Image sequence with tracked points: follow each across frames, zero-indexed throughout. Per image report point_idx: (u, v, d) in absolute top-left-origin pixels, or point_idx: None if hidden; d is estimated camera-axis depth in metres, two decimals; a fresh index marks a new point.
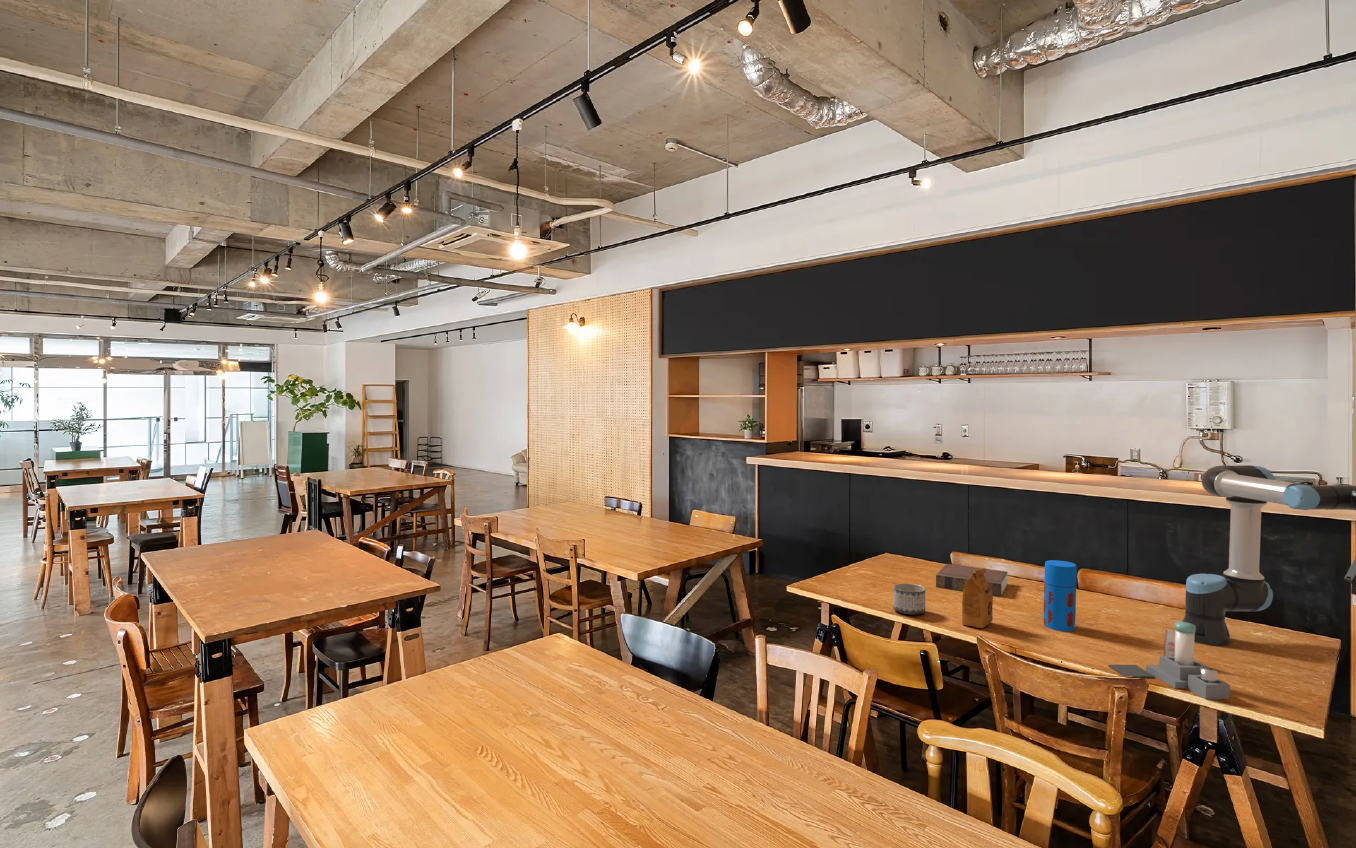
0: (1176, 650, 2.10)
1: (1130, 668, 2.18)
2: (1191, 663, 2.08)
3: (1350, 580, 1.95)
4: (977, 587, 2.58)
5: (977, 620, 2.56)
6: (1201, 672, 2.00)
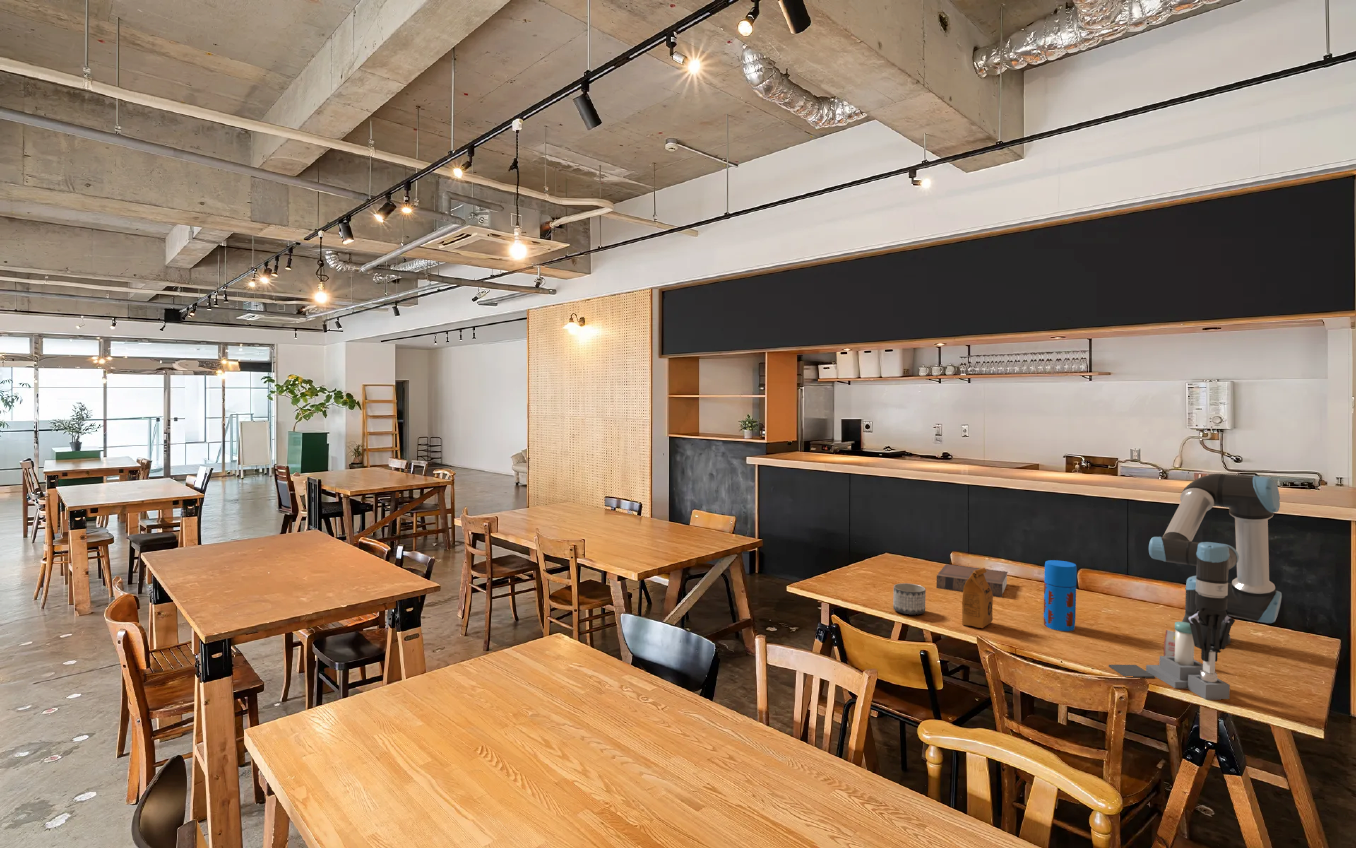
0: (1176, 650, 2.10)
1: (1130, 668, 2.18)
2: (1191, 663, 2.08)
3: None
4: (977, 587, 2.58)
5: (977, 620, 2.56)
6: (1201, 674, 2.00)
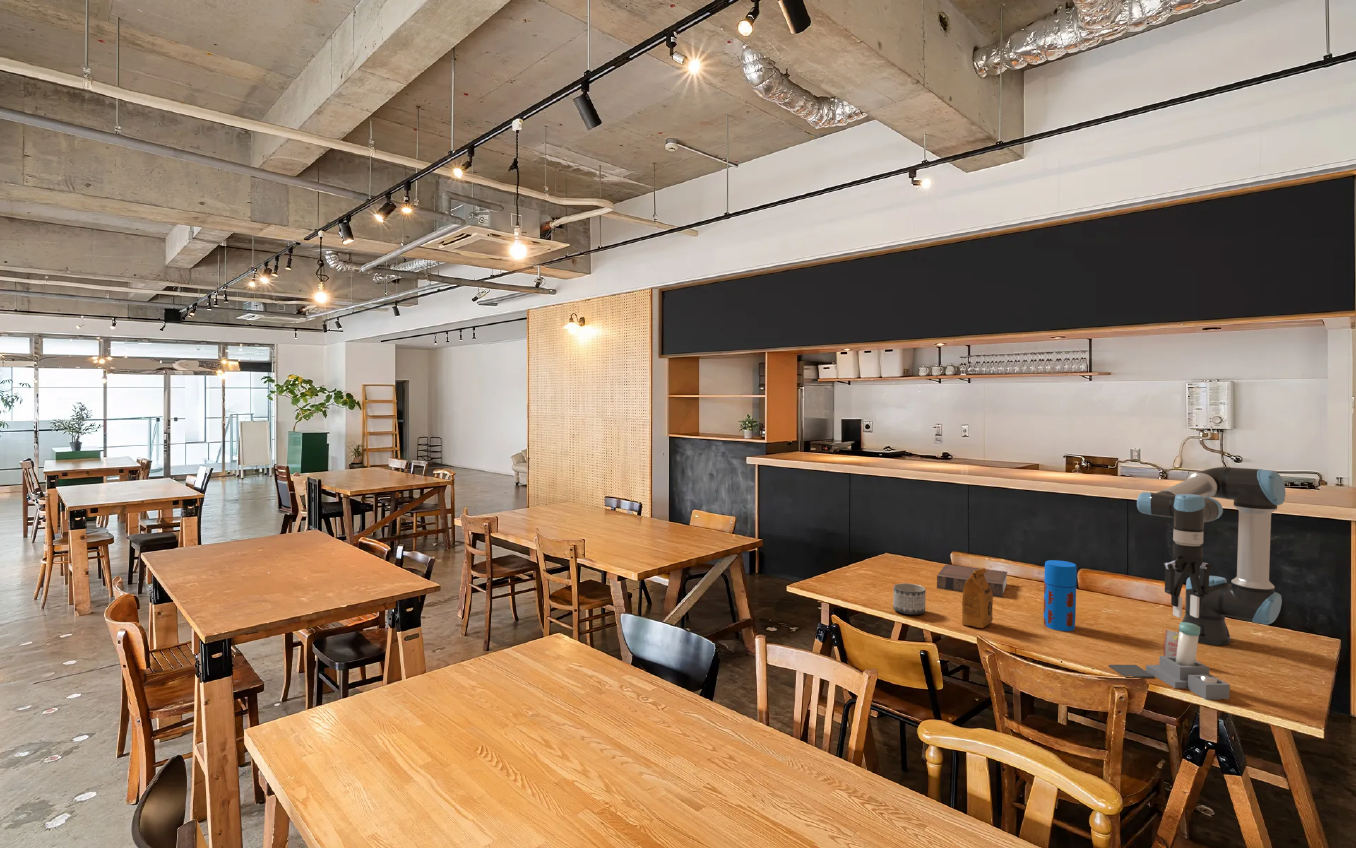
0: (1178, 650, 2.09)
1: (1130, 668, 2.18)
2: (1192, 664, 2.07)
3: (1169, 593, 2.09)
4: (977, 587, 2.58)
5: (977, 620, 2.56)
6: (1201, 679, 2.01)
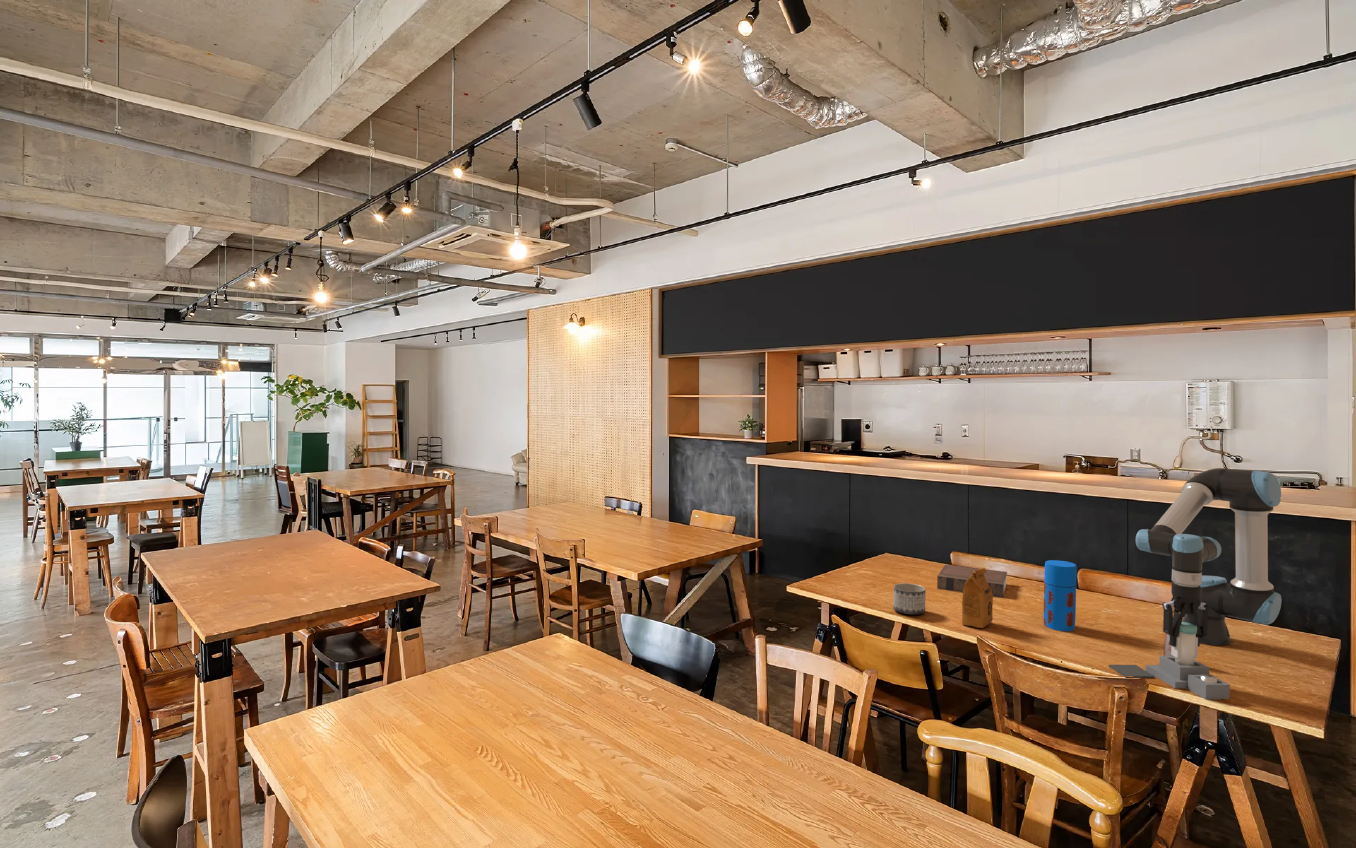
0: None
1: (1130, 668, 2.18)
2: (1191, 663, 2.08)
3: (1167, 633, 2.09)
4: (977, 587, 2.58)
5: (977, 620, 2.56)
6: (1201, 679, 2.01)
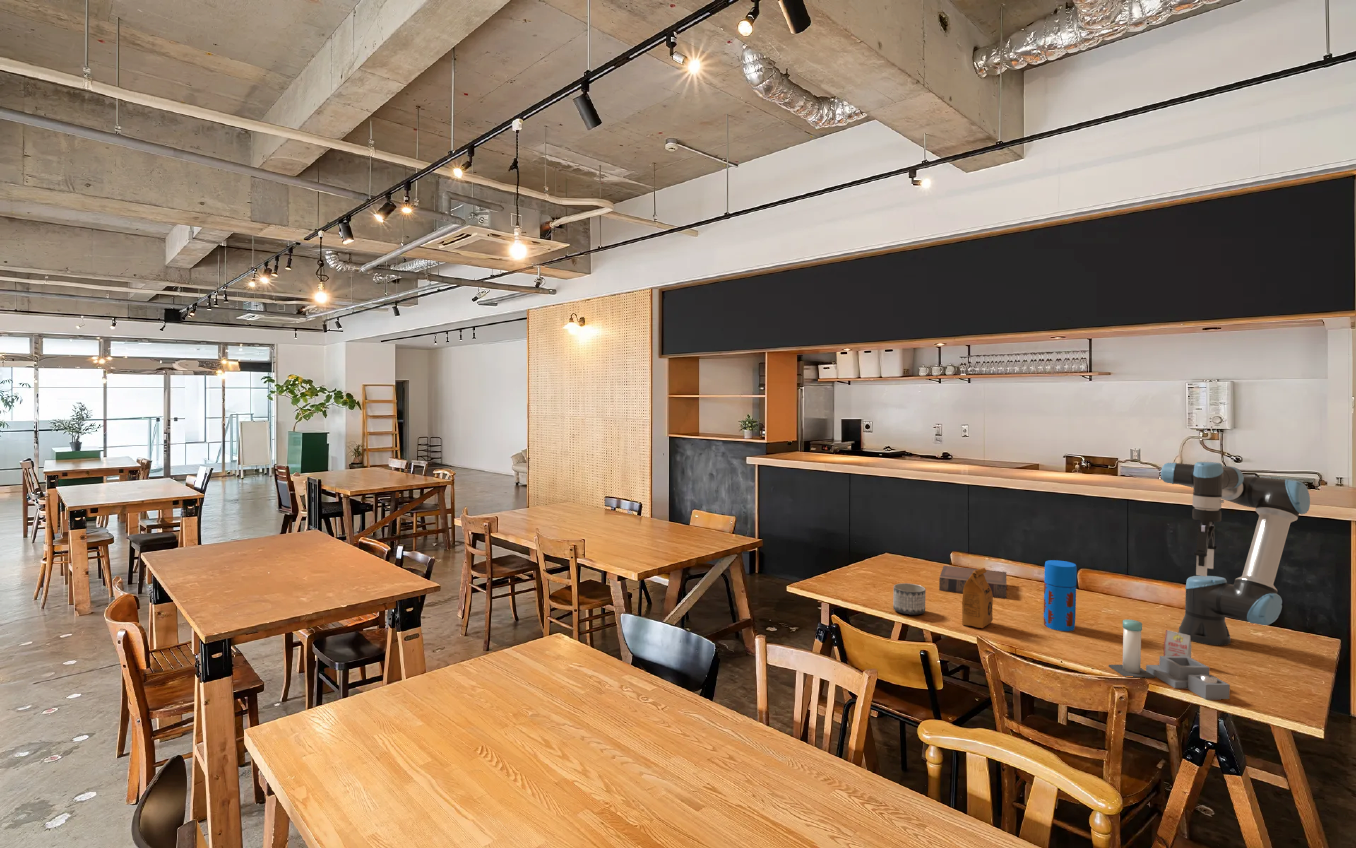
0: (1129, 649, 2.15)
1: None
2: (1140, 658, 2.15)
3: (1203, 553, 2.13)
4: (977, 587, 2.58)
5: (977, 620, 2.56)
6: (1201, 679, 2.01)
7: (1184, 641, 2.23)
